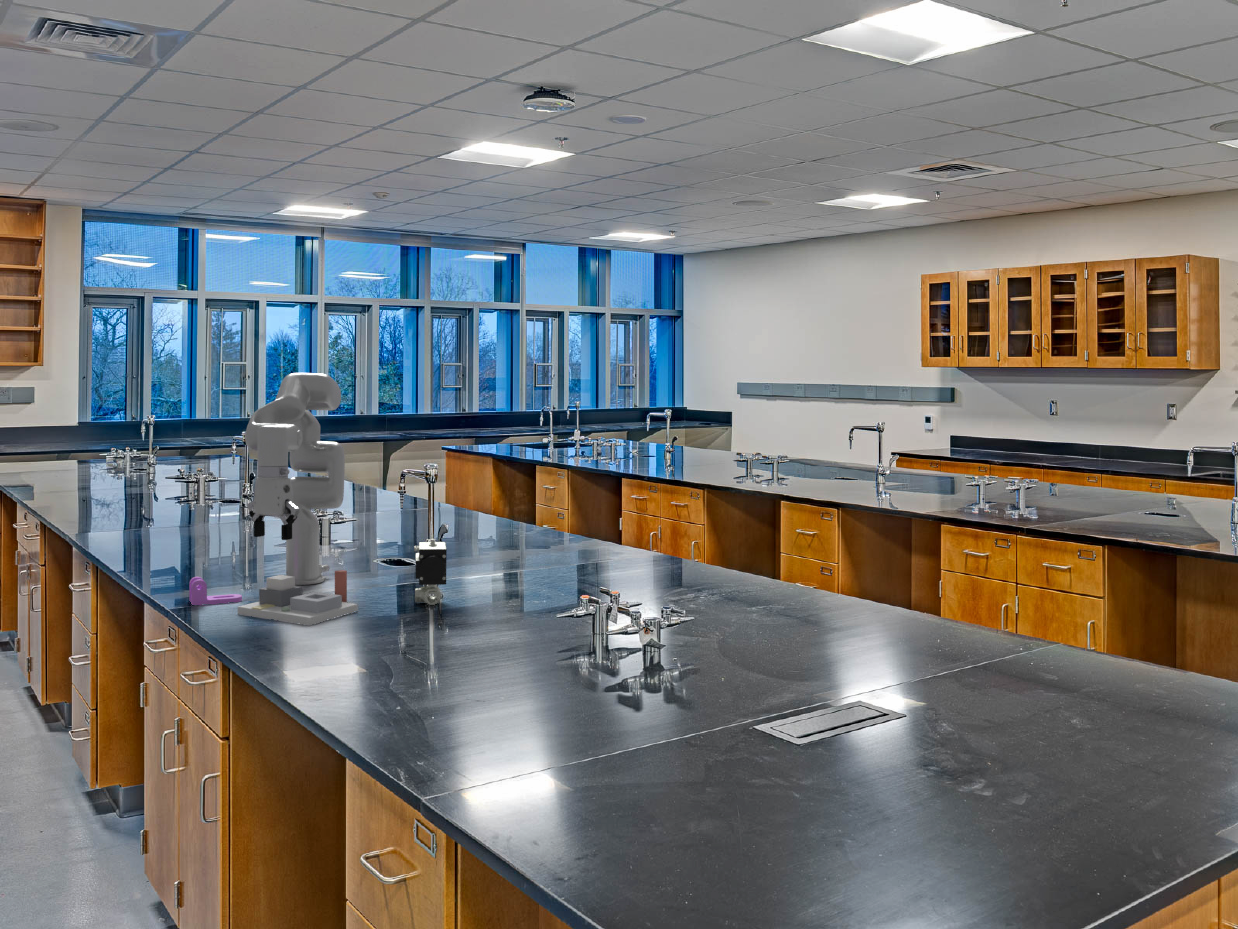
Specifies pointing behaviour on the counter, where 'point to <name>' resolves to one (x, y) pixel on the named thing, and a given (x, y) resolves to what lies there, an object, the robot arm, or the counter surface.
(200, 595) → the bracket
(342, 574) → the peg
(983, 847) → the counter surface
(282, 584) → the button
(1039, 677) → the counter surface
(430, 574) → the ball valve
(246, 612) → the panel
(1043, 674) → the counter surface
